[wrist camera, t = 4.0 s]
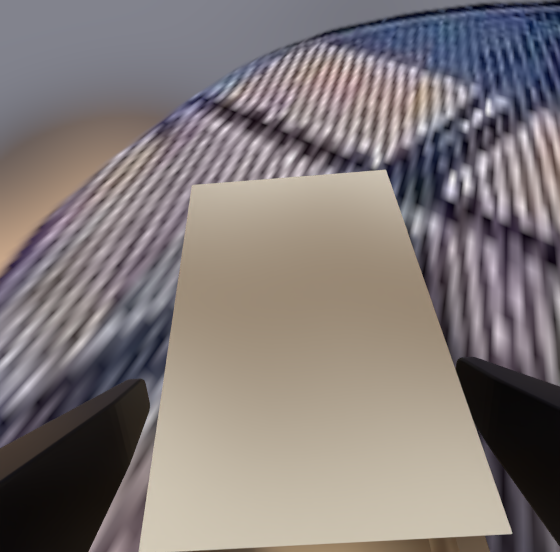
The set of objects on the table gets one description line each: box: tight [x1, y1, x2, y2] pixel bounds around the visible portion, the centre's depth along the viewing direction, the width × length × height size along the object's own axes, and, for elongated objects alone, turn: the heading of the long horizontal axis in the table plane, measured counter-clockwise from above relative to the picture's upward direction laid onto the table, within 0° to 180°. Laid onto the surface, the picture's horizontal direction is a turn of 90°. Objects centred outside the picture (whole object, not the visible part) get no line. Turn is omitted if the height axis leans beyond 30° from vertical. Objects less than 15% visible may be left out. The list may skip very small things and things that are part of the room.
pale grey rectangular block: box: [139, 170, 513, 552], centre depth 10 cm, size 5×4×13 cm
